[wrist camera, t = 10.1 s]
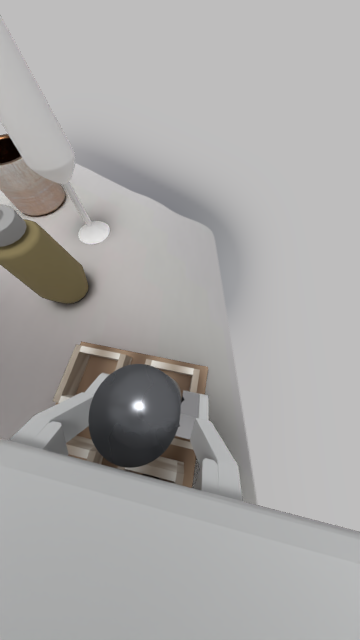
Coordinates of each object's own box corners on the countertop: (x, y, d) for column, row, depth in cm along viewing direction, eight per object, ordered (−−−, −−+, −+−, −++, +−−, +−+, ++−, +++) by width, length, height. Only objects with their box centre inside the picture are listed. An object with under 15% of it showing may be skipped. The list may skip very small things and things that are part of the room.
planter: (39, 182, 43) (2, 128, 34) (75, 192, 41) (46, 139, 32) (9, 210, 39) (-43, 158, 30) (47, 223, 38) (4, 172, 29)
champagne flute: (82, 220, 38) (-65, -22, 15) (112, 220, 38) (8, -23, 15) (74, 244, 35) (-114, -2, 13) (106, 244, 35) (-27, -3, 13)
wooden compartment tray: (22, 500, 21) (-113, 598, 11) (85, 343, 28) (34, 321, 18) (182, 547, 19) (182, 707, 10) (207, 367, 26) (221, 358, 17)
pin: (133, 390, 15) (74, 396, 7) (167, 367, 16) (151, 347, 8) (154, 429, 14) (113, 493, 6) (189, 402, 15) (198, 425, 6)
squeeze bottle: (100, 273, 33) (13, 155, 16) (87, 312, 30) (-37, 217, 13) (60, 269, 33) (-67, 150, 16) (43, 307, 30) (-132, 209, 13)
